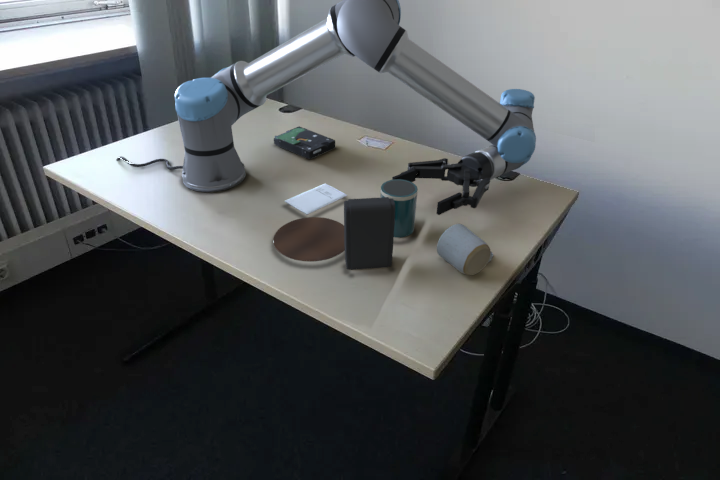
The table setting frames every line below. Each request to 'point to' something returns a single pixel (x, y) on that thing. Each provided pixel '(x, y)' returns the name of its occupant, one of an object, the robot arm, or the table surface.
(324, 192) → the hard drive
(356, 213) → the card reader
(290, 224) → the plate
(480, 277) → the table surface
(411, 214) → the tumbler
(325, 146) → the disk drive
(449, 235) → the ceramic mug
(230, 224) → the table surface
